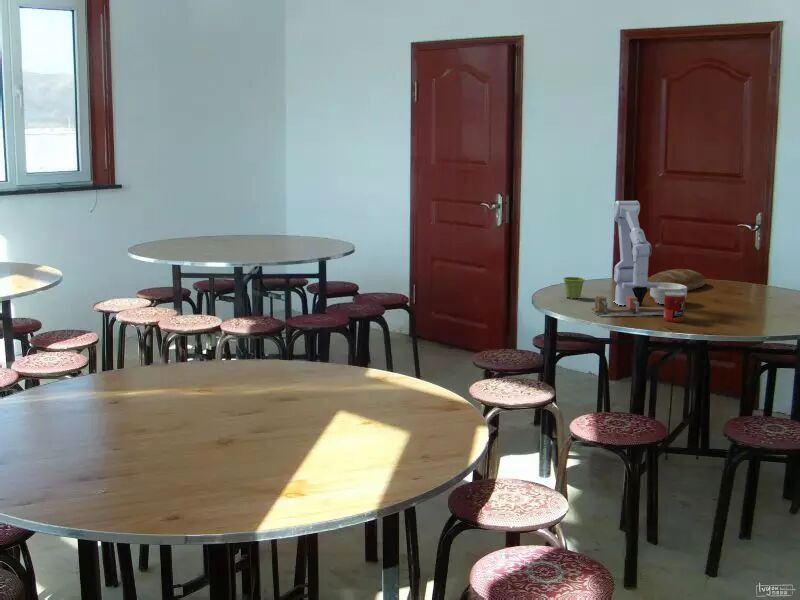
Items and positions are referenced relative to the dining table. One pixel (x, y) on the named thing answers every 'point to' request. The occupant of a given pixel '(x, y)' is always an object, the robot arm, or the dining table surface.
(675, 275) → the bread
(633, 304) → the sliding leg
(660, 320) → the dining table surface
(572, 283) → the plant pot
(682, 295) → the canned food
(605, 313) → the hole plate
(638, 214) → the robot arm
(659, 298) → the paper bowls
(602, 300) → the gauge beam
